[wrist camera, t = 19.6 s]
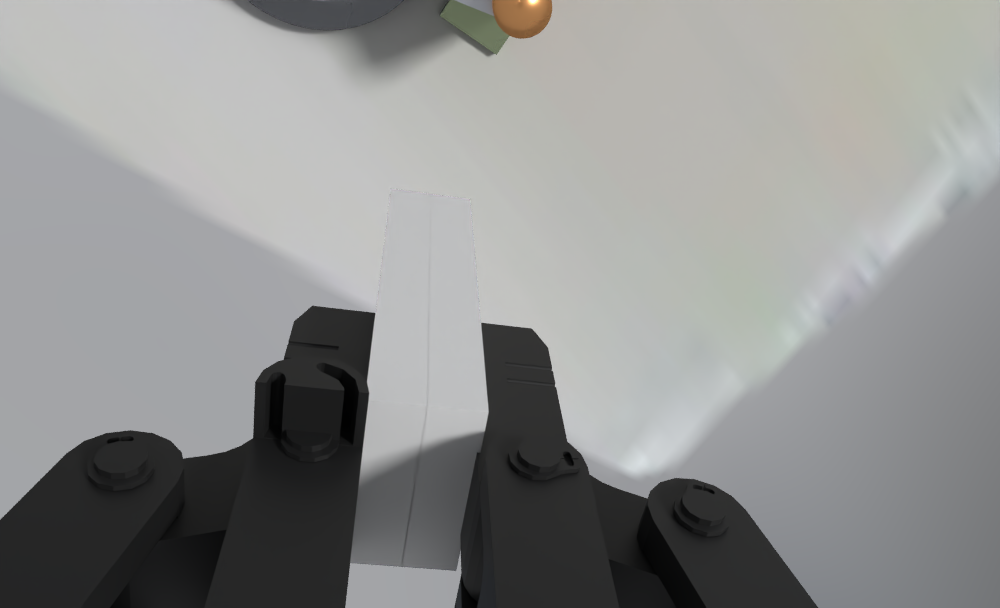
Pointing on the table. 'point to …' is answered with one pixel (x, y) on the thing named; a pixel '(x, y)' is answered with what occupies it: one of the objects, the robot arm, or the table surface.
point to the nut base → (361, 3)
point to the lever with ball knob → (516, 14)
